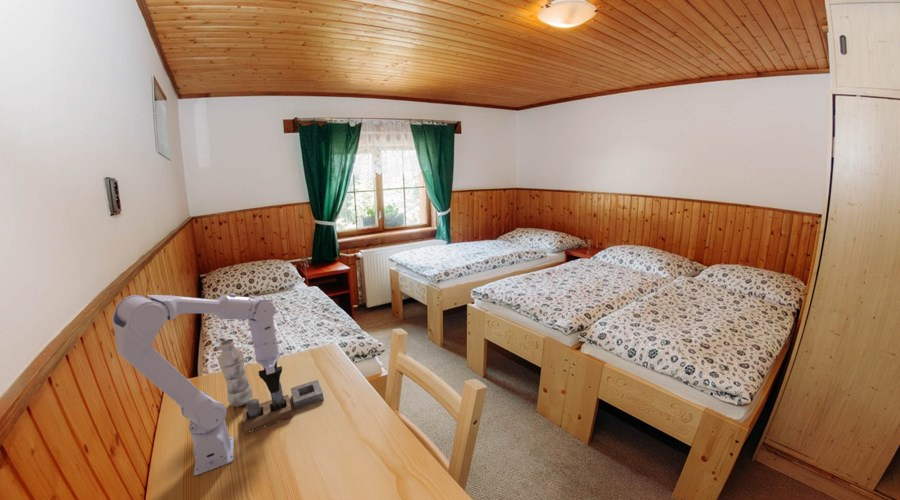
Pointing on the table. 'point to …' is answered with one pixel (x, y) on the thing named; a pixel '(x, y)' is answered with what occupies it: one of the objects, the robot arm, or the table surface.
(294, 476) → the table surface
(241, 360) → the plastic bottle
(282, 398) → the shiny steel cylinder
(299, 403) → the socket block
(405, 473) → the table surface
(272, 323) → the robot arm
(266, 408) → the rack
